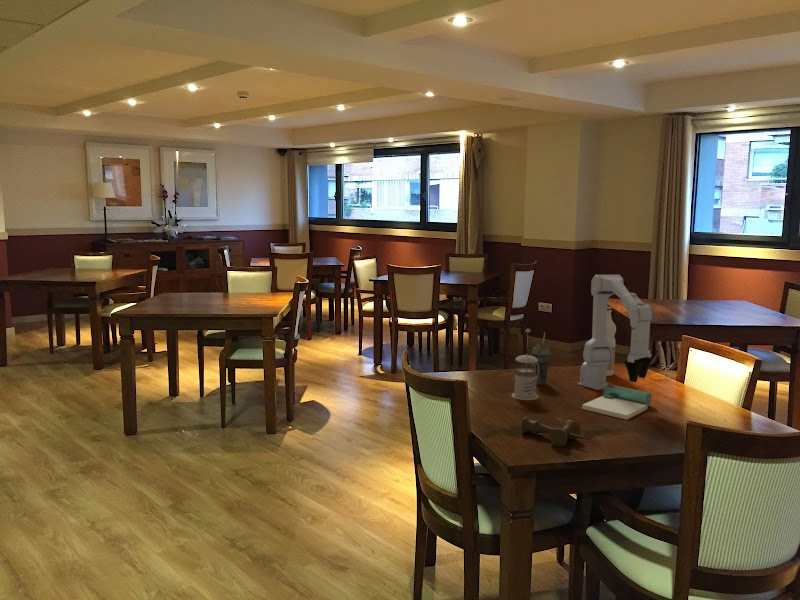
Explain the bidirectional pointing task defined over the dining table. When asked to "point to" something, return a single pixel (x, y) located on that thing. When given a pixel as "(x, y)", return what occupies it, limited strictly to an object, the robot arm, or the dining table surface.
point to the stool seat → (614, 407)
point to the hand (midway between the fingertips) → (637, 379)
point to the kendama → (553, 430)
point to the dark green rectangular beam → (628, 394)
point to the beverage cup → (541, 361)
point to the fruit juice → (610, 340)
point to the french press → (525, 378)
